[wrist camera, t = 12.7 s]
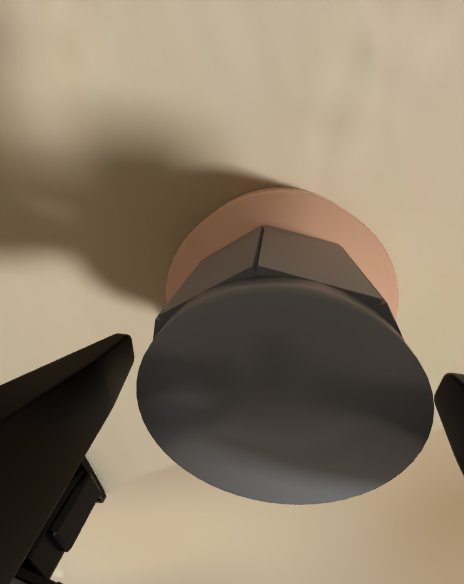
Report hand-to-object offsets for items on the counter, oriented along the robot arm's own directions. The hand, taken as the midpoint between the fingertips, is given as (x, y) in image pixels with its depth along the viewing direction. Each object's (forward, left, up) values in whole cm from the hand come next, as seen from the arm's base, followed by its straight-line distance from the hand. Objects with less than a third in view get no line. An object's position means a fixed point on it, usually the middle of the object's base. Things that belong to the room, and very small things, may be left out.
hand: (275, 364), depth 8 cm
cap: (0, 0, -3) cm, 3 cm away
